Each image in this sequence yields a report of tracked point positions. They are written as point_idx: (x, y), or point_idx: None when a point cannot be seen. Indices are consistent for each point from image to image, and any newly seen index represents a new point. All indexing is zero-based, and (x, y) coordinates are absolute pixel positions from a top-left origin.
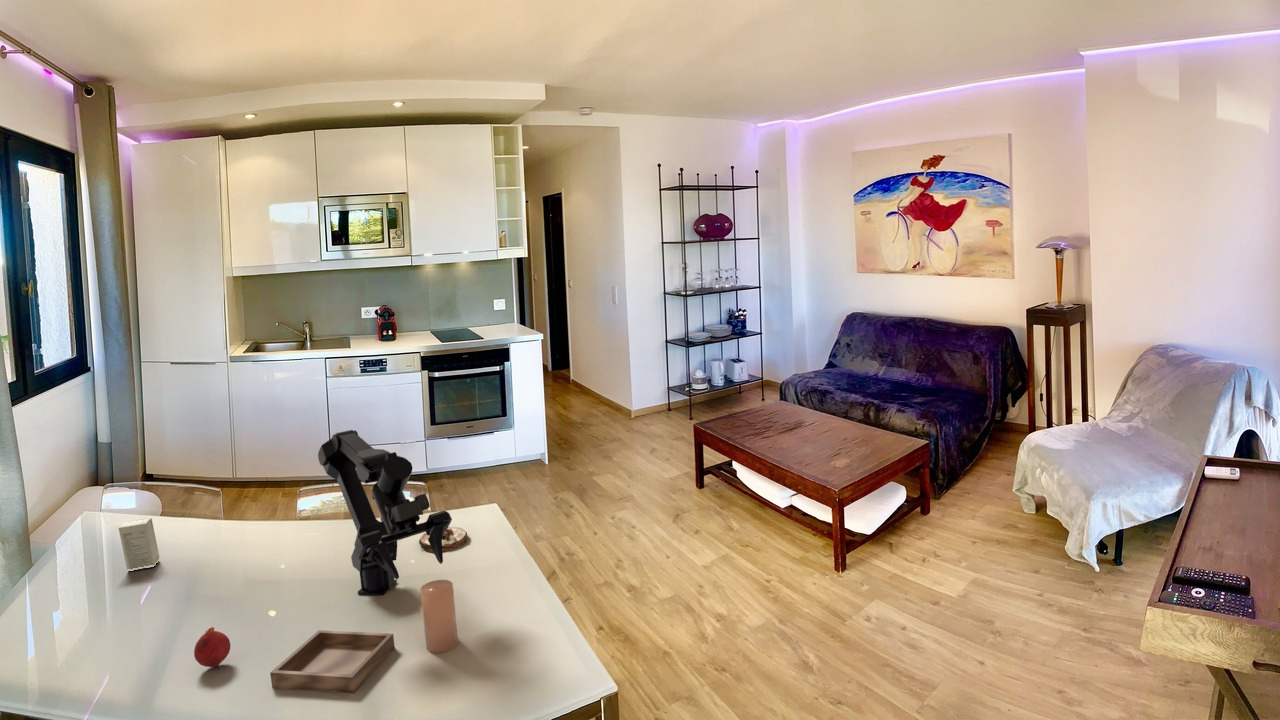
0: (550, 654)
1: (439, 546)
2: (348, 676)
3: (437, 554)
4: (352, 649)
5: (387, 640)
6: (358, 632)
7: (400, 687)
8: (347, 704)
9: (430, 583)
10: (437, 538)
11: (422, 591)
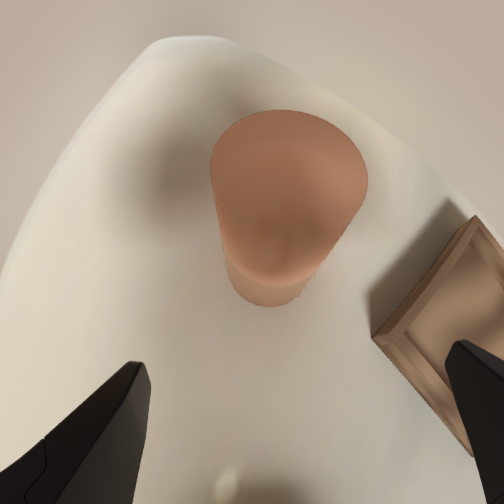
0: (139, 103)
1: (70, 439)
2: (480, 222)
3: (127, 427)
4: (447, 383)
5: (406, 312)
6: (448, 402)
7: (391, 184)
8: (464, 208)
9: (302, 218)
10: (30, 499)
11: (360, 174)
